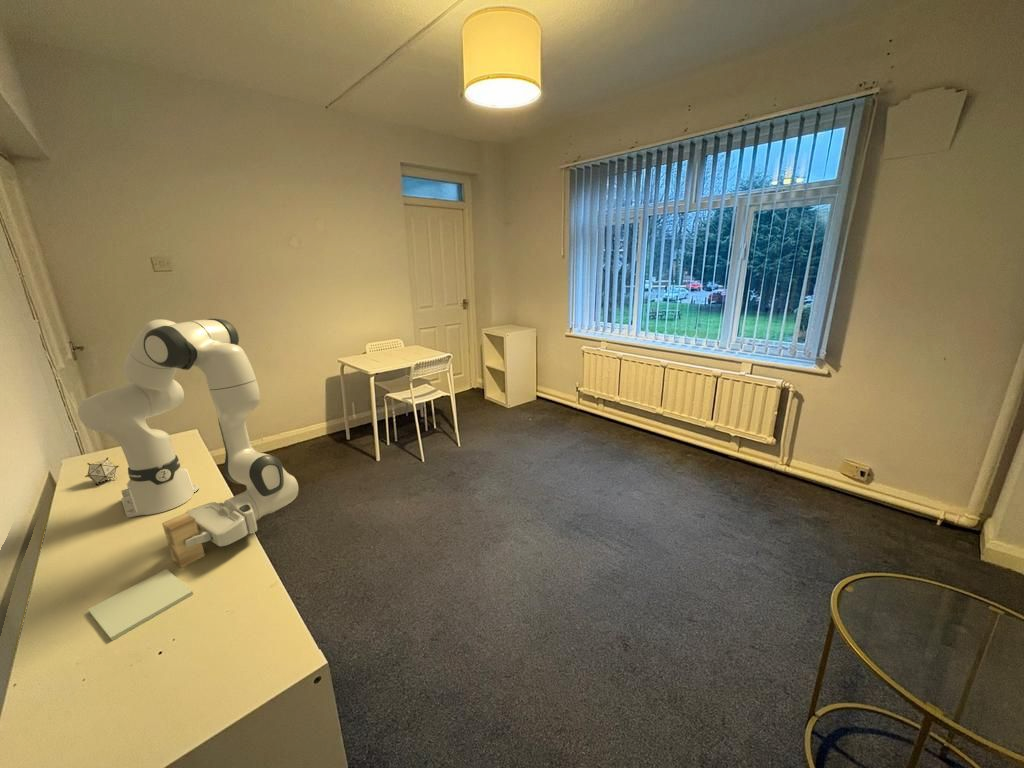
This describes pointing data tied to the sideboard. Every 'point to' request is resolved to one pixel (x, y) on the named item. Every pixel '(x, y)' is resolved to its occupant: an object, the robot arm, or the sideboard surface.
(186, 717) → the sideboard surface
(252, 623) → the sideboard surface
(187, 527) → the maple block
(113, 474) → the game die
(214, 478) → the sideboard surface
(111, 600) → the sage mat
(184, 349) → the robot arm
